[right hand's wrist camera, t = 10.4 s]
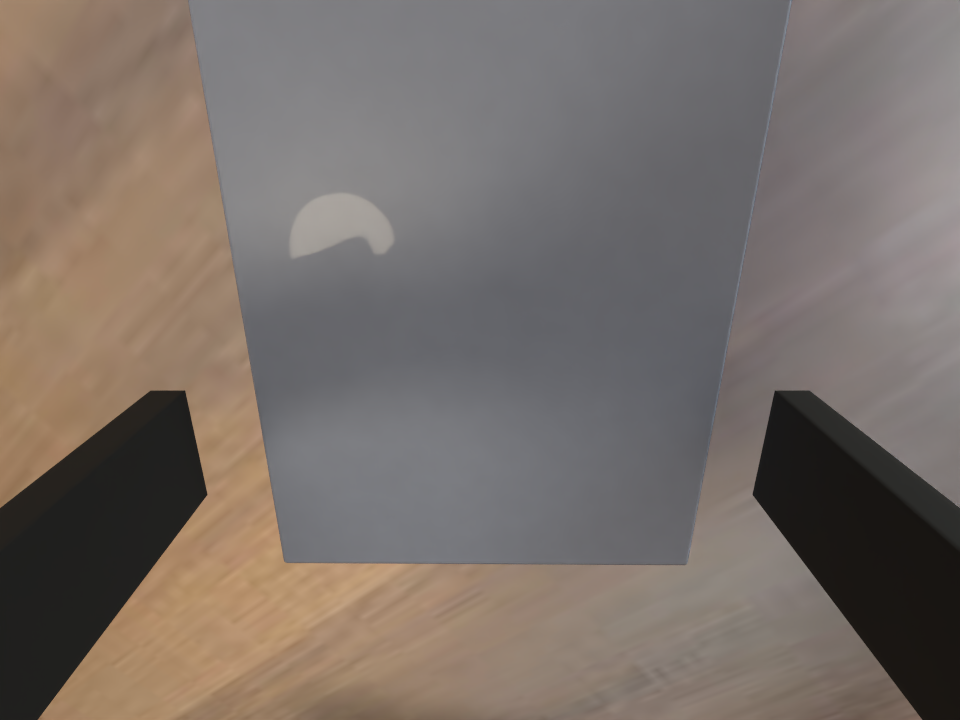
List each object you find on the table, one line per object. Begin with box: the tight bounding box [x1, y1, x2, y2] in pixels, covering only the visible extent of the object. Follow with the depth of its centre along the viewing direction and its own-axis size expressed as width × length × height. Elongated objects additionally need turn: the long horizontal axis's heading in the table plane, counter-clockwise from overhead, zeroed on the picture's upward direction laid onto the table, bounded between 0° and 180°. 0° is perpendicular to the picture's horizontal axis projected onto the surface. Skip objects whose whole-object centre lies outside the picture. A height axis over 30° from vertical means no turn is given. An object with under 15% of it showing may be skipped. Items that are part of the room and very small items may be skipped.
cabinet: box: [188, 0, 792, 565], centre depth 16 cm, size 16×10×10 cm, turn 0°
